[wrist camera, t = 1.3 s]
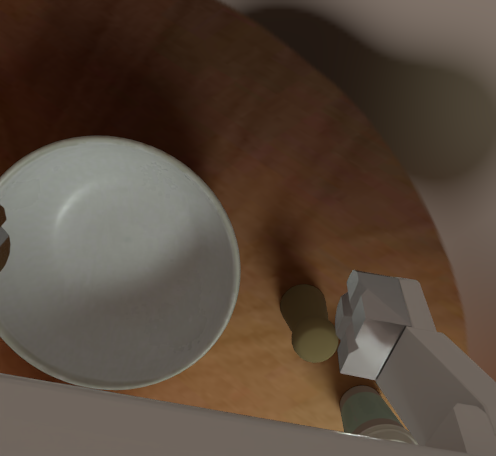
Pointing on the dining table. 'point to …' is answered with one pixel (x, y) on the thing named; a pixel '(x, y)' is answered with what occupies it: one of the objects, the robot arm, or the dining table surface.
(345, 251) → the dining table surface
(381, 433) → the coffee cup
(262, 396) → the dining table surface
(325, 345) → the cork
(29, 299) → the decorative bowl
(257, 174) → the dining table surface
